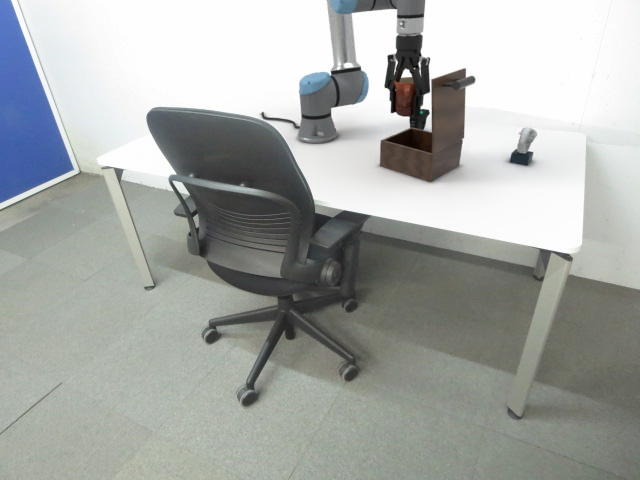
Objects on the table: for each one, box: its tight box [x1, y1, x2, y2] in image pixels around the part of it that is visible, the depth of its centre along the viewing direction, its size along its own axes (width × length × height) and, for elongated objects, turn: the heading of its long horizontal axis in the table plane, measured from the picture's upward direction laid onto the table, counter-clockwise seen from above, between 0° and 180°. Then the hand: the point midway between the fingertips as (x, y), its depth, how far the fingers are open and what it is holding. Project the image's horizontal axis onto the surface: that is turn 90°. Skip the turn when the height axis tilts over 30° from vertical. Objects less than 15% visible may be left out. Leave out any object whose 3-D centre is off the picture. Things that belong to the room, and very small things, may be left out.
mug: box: [394, 76, 417, 118], centre depth 130 cm, size 12×9×10 cm
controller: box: [408, 108, 431, 130], centre depth 164 cm, size 4×12×10 cm, turn 145°
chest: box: [379, 127, 464, 183], centre depth 137 cm, size 20×17×9 cm
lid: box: [430, 67, 476, 153], centre depth 122 cm, size 21×17×6 cm
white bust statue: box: [509, 126, 538, 167], centre depth 136 cm, size 6×8×11 cm
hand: (405, 114), depth 133 cm, fingers closed on mug, 8 cm apart
